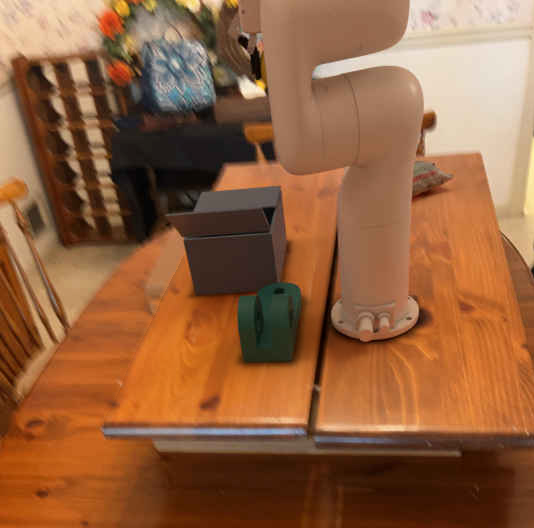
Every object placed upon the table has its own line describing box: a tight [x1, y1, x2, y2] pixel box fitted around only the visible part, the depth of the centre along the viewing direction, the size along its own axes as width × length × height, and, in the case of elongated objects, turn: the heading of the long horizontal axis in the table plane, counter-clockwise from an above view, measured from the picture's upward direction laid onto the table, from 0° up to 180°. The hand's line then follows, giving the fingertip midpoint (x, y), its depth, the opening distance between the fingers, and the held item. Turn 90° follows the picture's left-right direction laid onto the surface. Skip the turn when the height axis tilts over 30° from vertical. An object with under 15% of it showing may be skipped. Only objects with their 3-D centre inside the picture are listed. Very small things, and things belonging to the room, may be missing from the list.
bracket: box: [236, 281, 303, 363], centre depth 93 cm, size 18×7×8 cm, turn 172°
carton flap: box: [165, 206, 271, 238], centre depth 93 cm, size 8×14×1 cm
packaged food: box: [412, 160, 454, 198], centre depth 122 cm, size 9×12×5 cm
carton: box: [182, 185, 288, 296], centre depth 106 cm, size 17×14×10 cm
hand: (276, 74), depth 114 cm, fingers closed on lemon, 5 cm apart
